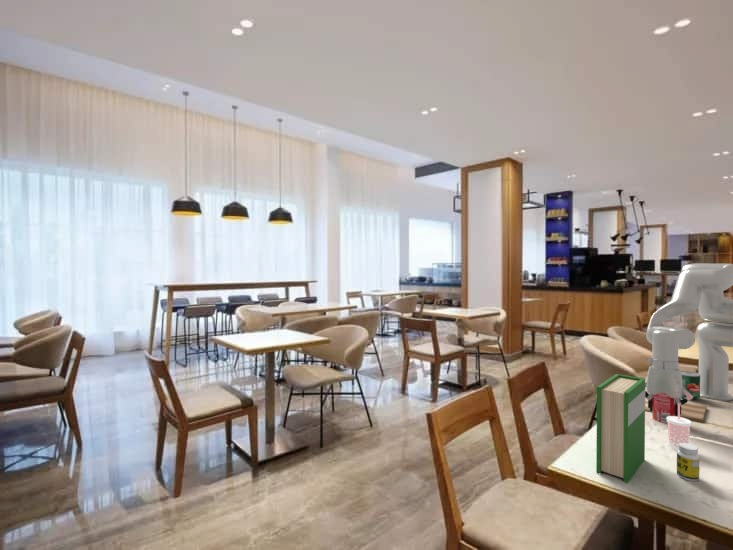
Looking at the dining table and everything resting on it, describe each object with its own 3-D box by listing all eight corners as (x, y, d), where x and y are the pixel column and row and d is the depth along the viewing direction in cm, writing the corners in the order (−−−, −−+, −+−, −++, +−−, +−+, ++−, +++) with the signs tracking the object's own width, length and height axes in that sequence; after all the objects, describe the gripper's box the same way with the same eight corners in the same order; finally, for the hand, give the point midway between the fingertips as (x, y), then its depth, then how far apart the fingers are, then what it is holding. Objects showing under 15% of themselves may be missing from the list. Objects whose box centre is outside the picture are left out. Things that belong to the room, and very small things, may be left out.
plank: (674, 404, 159) (673, 400, 159) (706, 409, 152) (706, 405, 152) (667, 417, 146) (667, 413, 146) (702, 423, 140) (702, 419, 140)
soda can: (667, 418, 146) (668, 385, 146) (681, 425, 139) (681, 392, 138) (647, 417, 147) (647, 385, 146) (659, 425, 140) (660, 391, 139)
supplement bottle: (672, 472, 109) (672, 442, 108) (687, 471, 109) (688, 441, 109) (687, 482, 104) (688, 450, 104) (704, 481, 104) (704, 449, 104)
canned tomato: (697, 404, 160) (697, 377, 159) (673, 398, 166) (673, 373, 166) (702, 399, 165) (702, 373, 164) (678, 394, 171) (679, 369, 171)
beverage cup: (684, 454, 118) (685, 408, 118) (661, 446, 124) (662, 402, 123) (695, 450, 121) (695, 405, 121) (672, 442, 127) (672, 399, 126)
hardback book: (627, 483, 104) (628, 392, 103) (596, 472, 109) (596, 386, 108) (644, 459, 116) (645, 378, 115) (615, 451, 121) (616, 373, 120)
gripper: (634, 362, 145) (633, 409, 146) (695, 370, 133) (694, 422, 134) (638, 358, 151) (637, 404, 151) (697, 366, 139) (696, 416, 139)
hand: (664, 412), depth 143 cm, fingers closed on soda can, 6 cm apart
